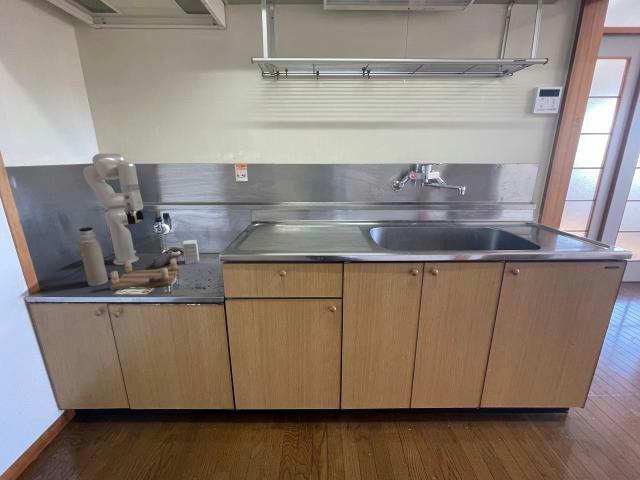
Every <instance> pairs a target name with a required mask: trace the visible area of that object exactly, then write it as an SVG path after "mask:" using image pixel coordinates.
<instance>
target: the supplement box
mask: <svg viewBox="0 0 640 480" xmlns="http://www.w3.org/2000/svg"><path fill="white" fill-rule="evenodd" d="M198 246H199V245H198V239H189V240H183V242H182V249H183V257H184V263H185V265H190V264H199V262H200V254H199V248H198Z"/></svg>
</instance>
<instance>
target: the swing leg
mask: <svg viewBox="0 0 640 480" xmlns="http://www.w3.org/2000/svg"><path fill="white" fill-rule="evenodd" d="M167 269H168V267H160V274H161V278H154V277H151V278H149V282H157V281H163V282H165V281H168V280H169V276H168V270H167Z"/></svg>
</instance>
